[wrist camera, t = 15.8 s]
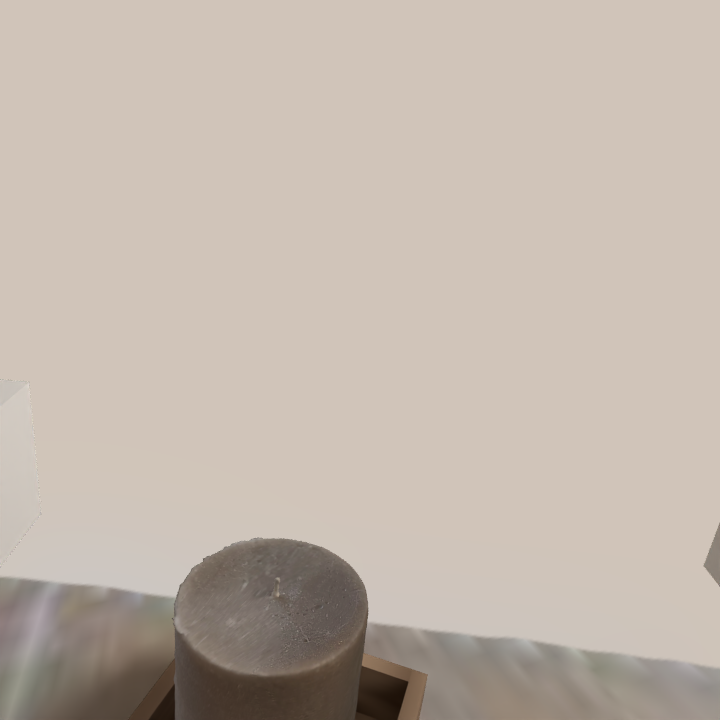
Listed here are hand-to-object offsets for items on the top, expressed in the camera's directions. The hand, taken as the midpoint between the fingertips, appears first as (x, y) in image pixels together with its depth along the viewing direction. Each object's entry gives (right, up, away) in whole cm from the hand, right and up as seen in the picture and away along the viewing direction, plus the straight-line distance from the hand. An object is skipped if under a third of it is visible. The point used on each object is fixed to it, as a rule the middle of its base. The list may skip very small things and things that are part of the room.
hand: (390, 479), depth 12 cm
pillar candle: (-6, -22, +25) cm, 34 cm away
